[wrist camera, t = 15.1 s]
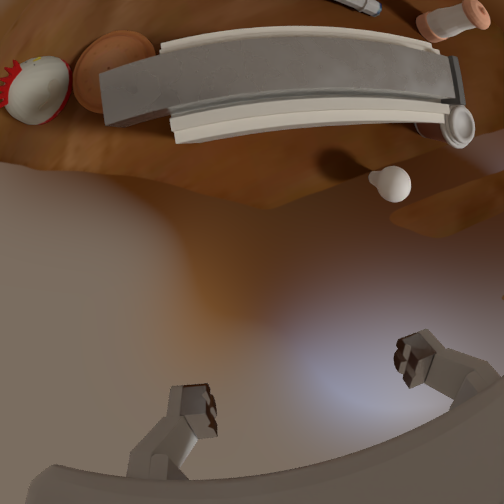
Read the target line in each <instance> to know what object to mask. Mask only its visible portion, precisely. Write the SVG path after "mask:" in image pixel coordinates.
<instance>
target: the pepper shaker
mask: <svg viewBox="0 0 504 504" xmlns="http://www.w3.org/2000/svg"><path fill="white" fill-rule="evenodd" d="M489 25H490V17H489V15H488V13H487V10H486V9H485V8H484V6H483V5H482V4H481V3H480V2H479V1H478V0H463V1H462V3H461V4H458V5H455V6H453V7H447V8H440V9H437V10H435V11H433V12H426V13H424V14H422V15H419V16H418V17H417V18H416V26H417V28H418V30H419V32H420V33H421V35H422V36H423V37H424V38H425V39H427V40H428V41H430V42H435V43H436V42H439V41H442V40H445V39H447V37H451V36H455V35H457V34H459V33H461V32H462V31H464V30H468V29H471V28H476V27H477V28H479V29H483V30H485V29H487V28H489Z"/></svg>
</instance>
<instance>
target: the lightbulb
mask: <svg viewBox="0 0 504 504" xmlns="http://www.w3.org/2000/svg"><path fill="white" fill-rule="evenodd" d="M368 179H369V182H370V183H372V184H373V185H374V186H376V187H377V188H378V191H379V193H380V195H381V196H382V197H383V198H384V199H386V200H388V201H390V202H399V201H402V200H404V199H405V198H406V197H407V196H408V194H409V192H410V189H411V181H410V178H409V176H408V174H407V173H406V172H405V171H404V170H403V169H401V168H400V167H396V166H389V167H386V168H384V169H383V170H382V171H372V172H371V173H370V174H369V176H368Z"/></svg>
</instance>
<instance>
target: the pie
mask: <svg viewBox="0 0 504 504" xmlns="http://www.w3.org/2000/svg"><path fill="white" fill-rule="evenodd" d="M153 56H156V53H155V50H154V46H153V45H152V44H151V42H150V41H149V40H148V39H147V38H146V37H144V36H143V35H141V34H140V33H138V32H133V31H128V30H119V31H113V32H110V33H108V34H105V35H103V36H102V37H100V38H99V39H97V40H96V41H94V42H93V43H92V44H91V45H90V46H89V47H88V48H87V49H86V50H85V51H84V52H83V53H82V55H81V56H80V58H79V60H78V61H77V63H76V66H75V69H74V72H73V90H74V96H75V97H76V99H77V100H78V102H79V103H80V104H81V105H82V106H83V107H84V108H86V109H87V110H89V111H92V112H95V113H103V107H102V99H101V90H100V81H99V74H100V73H103V72H106V71H109V70H111V69H114V68H117V67H120V66H123V65H126V64H129V63H132V62H135V61H139V60H142V59H146V58H149V57H153Z"/></svg>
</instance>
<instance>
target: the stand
mask: <svg viewBox="0 0 504 504" xmlns="http://www.w3.org/2000/svg"><path fill="white" fill-rule="evenodd" d="M272 37H331V38H346V39H357V40H366V41H374V42H381V43H388V44H394V45H399V46H405V47H410V48H414V49H419V50H423V51H427V52H431V53H435V54H439V55H440V52H439V50H437V49H433V48H432V45H431V43H428V42H424V41H420V40H416V39H412V38H407V37H402V36H397V35H392V34H387V33H380V32H374V31H367V30H359V29H349V28H338V27H320V26H275V27H258V28H246V29H237V30H228V31H221V32H214V33H208V34H202V35H197V36H191V37H186V38H182V39H177V40H173V41H169V42H165V43H161V50H159V51H160V54H164V53H168V52H173V51H177V50H182V49H186V48H191V47H197V46H202V45H208V44H214V43H221V42H228V41H236V40H245V39H257V38H272ZM448 59H449V64H450V69H451V74H452V80H453V86H454V92H455V98H450V99H433V100H426V99H418V98H408V97H396V96H381V95H306V96H290V97H278V98H267V99H258V100H250V101H242V102H235V103H228V104H222V105H216V106H211V107H205V108H200V109H195V110H190V111H185V112H181V113H176V114H172V115H171V119H170V125H171V131H172V132H174V136H175V141H176V144H181V143H201V142H206V141H212V140H217V139H222V138H228V137H234V136H241V135H247V134H254V133H261V132H269V131H277V130H286V129H295V128H306V127H319V126H334V125H352V124H370V123H445V121H444V114H450V110H449V105H466V104H465V96H464V89H463V83H462V78H461V72H460V67H459V63H458V58H457V57H455V56H449V57H448Z"/></svg>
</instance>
